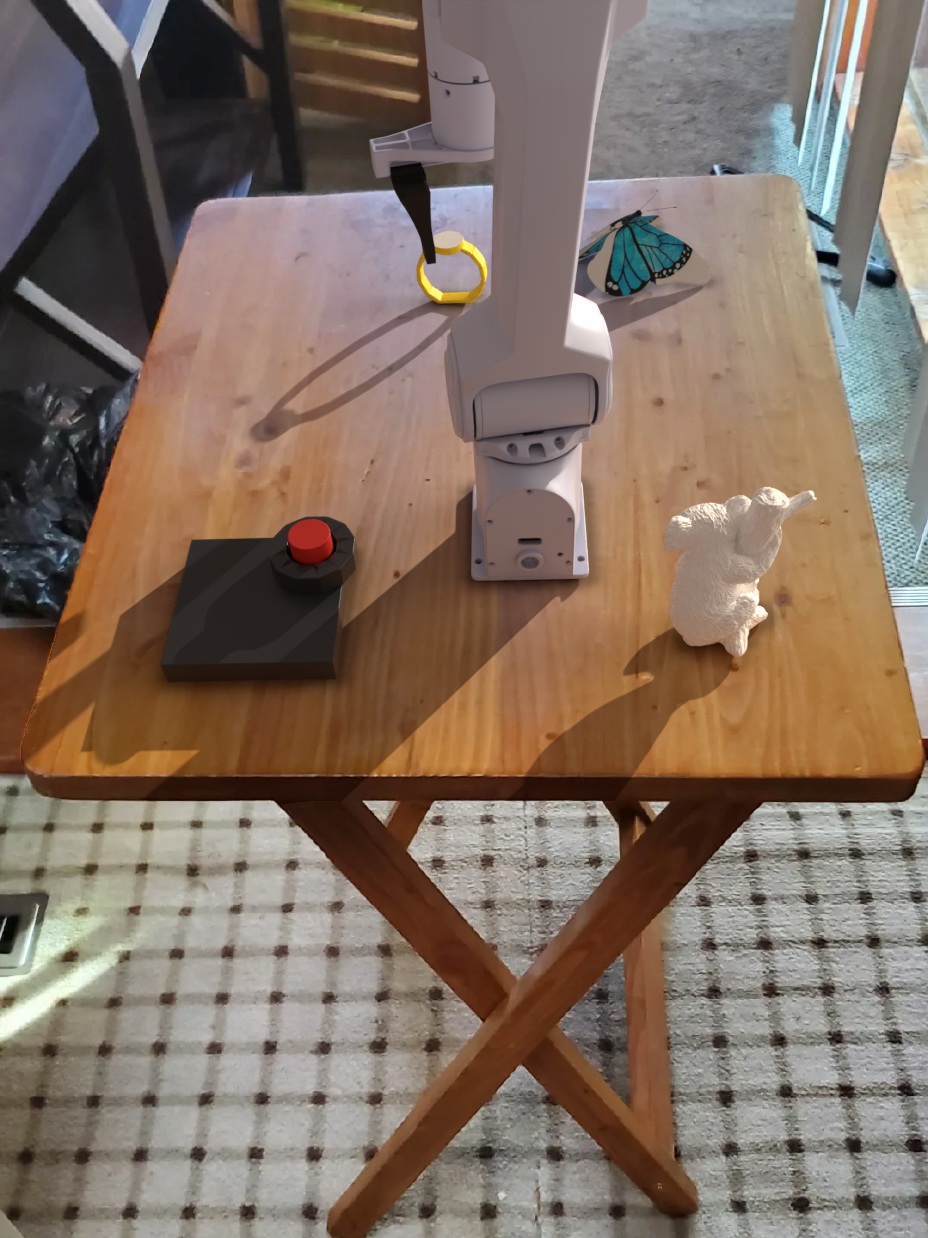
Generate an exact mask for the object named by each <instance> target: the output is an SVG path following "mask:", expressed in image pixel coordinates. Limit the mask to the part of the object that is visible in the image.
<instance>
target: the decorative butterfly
mask: <svg viewBox="0 0 928 1238" xmlns="http://www.w3.org/2000/svg"><path fill="white" fill-rule="evenodd" d="M658 191H659V190H658V189H656V191H655V194H654V195H653V196H652V197H651V198H650V199H649V200H648V201H647V202H646V203H645V204H643V207H644V206H646V205H647V204H648V203H649V202H650V201H651V200H652V199H653V198H654V197H655V195H656V194H657V193H658ZM671 208H674V209H677V206H671V207H670V206H669V207H668V209H671ZM665 209H667V207H664V208H662V210H665ZM657 210H659V208H656V209H655V208H654V211H657ZM650 211H651V212H652V209H649V210H647V212H650ZM662 221H663V218H662V216H660V215H658V214H651V215H643V211H642V208H640V209H637V210H635V212H632V213H630V214H626V215H624V216H622V217H620V218H618V219H617V220H615V221H613V222H611V223H610V224H608V225H606V226H605V227H603V228H602V229H600V230H599V231H597V232H596V233H594V234H593V235H591V236H590V237H589V238H588V239H587V241H590V240H591V241H592V240H594V239H595V240H594V241H592V242H590V243H588V244H587V245H585V246H583V247H582V248H580V249H579V256H578V260H581V259H584V258H586V257H589V256H592V255H593V254H595V256H594V257H592V259H590V262H589V263H588V264H587V268H586V273H587V276H588V279H590V281H591V282H592V284H593V285H594V287H596V288H597V289H598V290H600V291H601V292H603V293H605V294H607V295H609V296H612V297H626V296H630V295H631V296H632V295H634V294H638V293H639V292H641V291H642V290H644V288H645V287H647V285H648V284H649V283H650V282H651V283H652V284H653V285H656V286H660V285H665V284H669V283H685V284H690V285H695V286H698V285H699V286H701V285H706V284H707V283H709V282H710V280H711V278H712V275H713V273H712V272H713V271H712V268H711V266H710V264H709V263H708V262H707V261H706V259H705V258H703V257H702V255H700V254H699V253H698V252H697V251H696V250H695V249H694V248H693V247H691V246H690V245H689V244H687V243H686V242H684V241H683V240H682V239H679V238H678V237H676V236H674V235H672V234H670V233H667V232H665V231H663V230H661V229H659V228H657V227H656V226H658V225H659V224H660V223H661V222H662ZM596 253H597V254H596Z"/></svg>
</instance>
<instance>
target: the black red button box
mask: <svg viewBox="0 0 928 1238" xmlns="http://www.w3.org/2000/svg"><path fill="white" fill-rule="evenodd" d="M308 519H316V520H320V521H322V522H324V523H325V524H327V526H328V527H329V529H330V533H331V538H332V543H333V552H332V554H331V556H330V557H329V558H328V559H327V560H325V561H324V562H321V563H319V564H316V565H303V564H300V563H298V562H297V561H296V560H295V559H294V558H293V556H292V553H291V549H290V545H289V541H288V533H289V530H290V529H291V528H292V527H293V526H294V525H295V524H296V523H298V522H300V521H303V520H308ZM358 557H359V551H358V547H357V541H356V537H355V536H354V534H353V532H352V531H351V529H350V528H349V527H348V525H347V524H346V523H345V522H342V521H339V520H337V519H335V518H333V517H330V516H327V515H321V516H304V517H301V518H298V519H297V520H294V521H291V522H288V523H287V524H285V525H283V526H282V528H281V529H280V530H278V532H277V533H276V534H275V535H274V536H273V537H243V538H242V537H241V538H239V537H237V538H202V539H201V538H199V539H198V538H197V539H191V540H190V544H189V549H188V551H187V557H186V560H185V564H184V565H185V566H184V568H183V572H182V577H181V582H180V583H179V588H178V592H177V596H176V600H175V605H174V609H173V613H172V615H171V616H172V617H171V621H170V624H169V629H168V632H167V637H166V641H165V645H164V648H163V653H162V657H161V660H160V668H161V670H162V672H163V675H164V676H165V679H166V681H167V682H168V683H186V682H188V683H189V682H191V683H192V682H193V683H194V682H240V681H241V682H245V681H247V682H251V681H303V680H305V681H306V680H337V679H338V674H339V673H338V672H339V665H340V656H341V647H342V639H343V631H344V621H345V615H346V614H345V612H346V605H347V604H346V603H347V595H348V588H349V587H348V586H349V578H351V576H352V575H353V574H354V573H355V572H356V570H357V567H358V566H357V565H358Z"/></svg>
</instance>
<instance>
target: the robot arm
mask: <svg viewBox="0 0 928 1238" xmlns="http://www.w3.org/2000/svg"><path fill="white" fill-rule="evenodd" d="M649 2H650V0H421V4H422V5H421V6H422V19H423V33H424V43H425V45H424V46H425V57H426V69H427V83H428V95H429V107H430V109H429V110H430V120H431V121H428V122H426V123H422V124H420V125H418V126H414V127H411V128H408V129H405V130H402V131H400V132H396V133H393V134H390V135H386V136H382V137H377V138H370V139H368V142H369V149H370V157H371V167H372V169H373V173H374V177H375V178H376V179H382V178H388V177H389V178H390V181H391V185H392V187H393V191H394V193H395V195H396V197H397V199H398V200H399V202H400V203H401V205H402V206H403V208H404V209H405V211H406V213H407V215H408V216H409V218H410V219H411V221H412V223H413V226H414V227H415V230H416V231H417V234H418V236H419V239H420V243H421V248H422V252H423V254H424V257H425V260H424V261H425V263H426V265H433V264H437V253H436V252H435V246H434V240H433V237H434V234H433V228H432V209H431V208H432V205H431V203H432V201H431V197H432V195H431V193H432V192H431V190H430V187H429V184H428V181H427V174H426V170H425V169H424V167H431V166H432V167H433V166H437V165H445V164H450V163H467V164H468V163H470V164H471V163H482V162H487V161H491V160H493V166H492V167H493V170H492V213H491V215H492V217H491V219H492V220H491V262H490V263H491V264H490V294H489V295H488V296H487V297H486V298H485V299H483V300H482V301H481V302H479V303H477V304H476V305H475V306H473V307H472V308H470V309H468V310H467V311H465V312H463V313H462V314H461V315H459V316H457V318H456V319H454V320H453V321H452V322H451V323H450V324H449V325H450V332H449V333H448V334H447V335H446V349H445V350H444V354H443V359H444V360H443V363H444V376H445V384H446V392H447V399H448V406H449V407H448V408H449V413H450V418H451V419H450V420H451V423H452V428H453V432H454V435H455V436H457V437H458V438H459V439H461V441H462V442H463V443H464V444H468V443H472V446H473V447H472V448H473V464H474V465H473V466H474V481H475V483H473V486H472V507H471V557H470V558H471V562H470V563H471V564H470V566H471V567H470V575H471V579H472V580H474V581H477V582H486V581H489V582H490V581H531V580H532V581H533V580H534V581H536V580H537V581H539V580H575V579H576V580H577V579H578V580H579V579H580V580H582V579H586V578H587V577H589V574H590V566H589V552H588V540H587V526H586V525H587V523H586V514H585V513H586V512H585V499H584V487H583V485H584V484H583V482H582V458H583V443H586V442H589V441H590V440H591V428H592V427H591V426H599V425H602V424H603V423H604V422H605V420H606V418H607V416H608V415H609V413H610V412H611V410H612V405H613V394H614V393H613V392H614V391H613V390H614V389H613V387H614V385H613V371H612V370H613V362H614V354H613V353H614V352H613V348H612V343H611V338H610V333H609V329H608V325H607V323H606V320H605V318H604V315H603V314H602V313H601V311H600V308H599V306H598V303H596V302H594V301H592V300H590V299H589V298H586V297H584V296H582V295H580V294H577V293H575V287H576V280H577V279H576V278H577V272H578V271H577V270H578V263H579V259H578V256H579V250H580V249H581V248H580V247H581V239H582V231H583V223H584V215H585V208H586V200H587V192H588V185H589V177H590V176H589V175H590V168H591V162H592V161H591V160H592V153H593V145H594V136H595V129H596V122H597V116H598V112H599V107H600V106H599V105H600V101H601V96H602V90H603V85H604V81H605V76H606V71H607V66H608V61H609V56H610V51H611V49H612V47H613V46H615V44H617V43H618V42H619V41H620V40H621V39H623V38H624V37H625V36H626V35H627V34H628V33H629V32H630V31H632V30H633V29H634V28H635V27H636V26H638V24H640V23H641V22H642V21H644V19H645V18H646V16H647V13H648V8H649Z"/></svg>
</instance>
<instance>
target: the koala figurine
mask: <svg viewBox="0 0 928 1238" xmlns="http://www.w3.org/2000/svg"><path fill="white" fill-rule="evenodd" d="M815 501H817V497H815V492H814V491H813V490H806V491H803V490H802V491H800V492H799V493H798V494H796V495H793V496H791V497H787V495H786V494H785V493H784V492H782V491H780V490H779V489H776V488H774V487H770V486H764V487H761V488H758V489H757V490H756V491H755V492H754V493H753V494H752V498H751V499H750V498H749V497H748V496H746V495H744V494H740V495H735V496H732V497H730V498H728V499H727V500H726V501H725V502H724V503H721V504H720V503H716V502H702V503H700V504H699V503H698V504H695V505H692V506H689V507H688V508H685V509H683V511H682V512H681V513H680V514H679V515H674V516H672V517H671V518H670V521H667V525H666V527H665V528H664V531H665V532H663V535H664V536H663V546H664V549H665V550H666V551H667V552H674V551H680V550H681V551H682V552H683V553H682V554H680V556H678V560H677V568H676V572H675V574H674V580H673V583H672V584H671V587H670V592H669V594H670V595H669V599H668V614H669V615H668V616H669V620H670V622H671V625H672V627H673V628H674V629H675V631H677V633H678V634H679V635H680V636H681V637H682V640H683V641H684V643H685V644H686V645H688V646H690V647H703V646H709V645H714V644H717V643H720V644H721V645H723V647H724V649H725V650H726V652H727V653H728V654H729V655H732V656H733V657H735V658H741V657H742V656H744V655H745V653H746V652H747V649H748V638H749V635H750V630H752V629H753V628H755V627H756V626H757V625H758V624H760V623H762V622H763V621H765V620H766V619H767V618H768V615H769V613H768V612H767V611H766V609H765V608H764V607H763V606H761V605H759V602H760V591H759V590H758V588H757V587H758V583H759V582H760V578H761V577H763V575H765V574H766V573H767V572H768V570H769V569H771V567H772V565H773V564H774V561H775V560H776V557H777V555H778V553H779V550H780V547H781V544H782V539H783V538H782V537H783V530H782V524H783V523H784V521H786V520H789V518H792V516H795V514H797V513H799V512H801V511H804V509H807V508H809V507H810V506H811V505H812V504H813V503H814V502H815Z"/></svg>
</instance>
